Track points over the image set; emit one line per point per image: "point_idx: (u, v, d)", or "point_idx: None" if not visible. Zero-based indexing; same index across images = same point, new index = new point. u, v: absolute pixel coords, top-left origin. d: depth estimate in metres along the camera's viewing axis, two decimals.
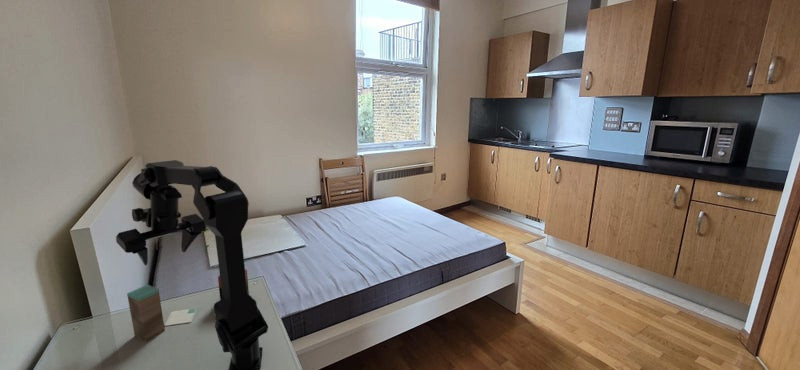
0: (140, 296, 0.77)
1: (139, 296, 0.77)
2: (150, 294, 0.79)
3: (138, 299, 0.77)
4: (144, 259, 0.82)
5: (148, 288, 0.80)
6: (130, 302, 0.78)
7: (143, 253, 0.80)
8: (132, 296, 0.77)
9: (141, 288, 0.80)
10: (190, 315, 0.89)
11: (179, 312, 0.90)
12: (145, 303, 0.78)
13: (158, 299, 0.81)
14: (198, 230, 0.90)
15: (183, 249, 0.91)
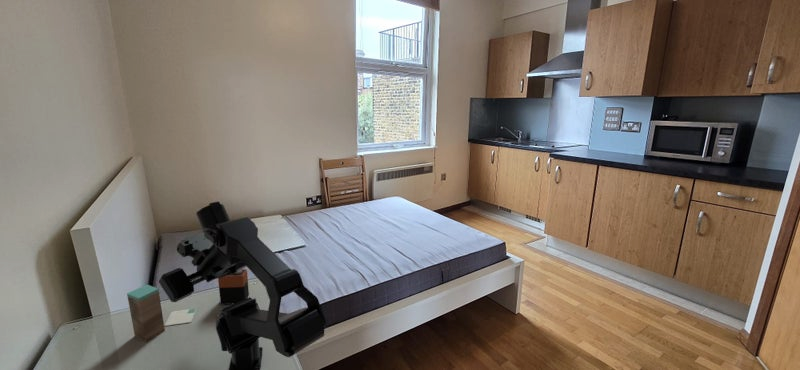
0: (140, 296, 0.77)
1: (139, 296, 0.77)
2: (150, 294, 0.79)
3: (138, 299, 0.77)
4: None
5: (148, 288, 0.80)
6: (130, 302, 0.78)
7: None
8: (132, 296, 0.77)
9: (141, 288, 0.80)
10: (190, 315, 0.89)
11: (179, 312, 0.90)
12: (145, 303, 0.78)
13: (158, 299, 0.81)
14: (240, 268, 0.82)
15: None
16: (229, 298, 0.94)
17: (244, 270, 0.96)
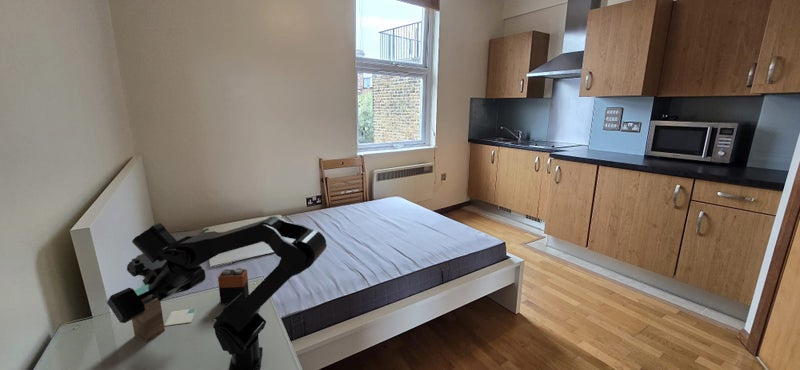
0: None
1: None
2: None
3: None
4: None
5: None
6: None
7: None
8: None
9: (141, 288, 0.80)
10: (190, 315, 0.89)
11: (179, 312, 0.90)
12: None
13: (158, 299, 0.81)
14: (196, 284, 0.82)
15: None
16: (229, 298, 0.94)
17: (244, 270, 0.96)
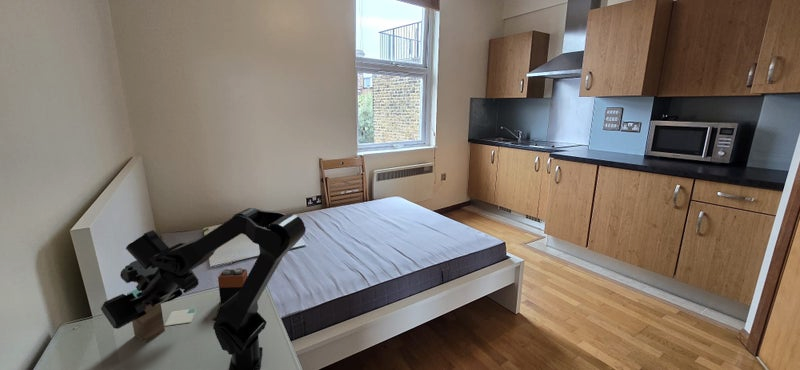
0: None
1: None
2: None
3: None
4: None
5: None
6: None
7: None
8: None
9: None
10: (190, 315, 0.89)
11: (179, 312, 0.90)
12: None
13: None
14: (189, 290, 0.84)
15: None
16: (229, 298, 0.94)
17: (244, 270, 0.96)
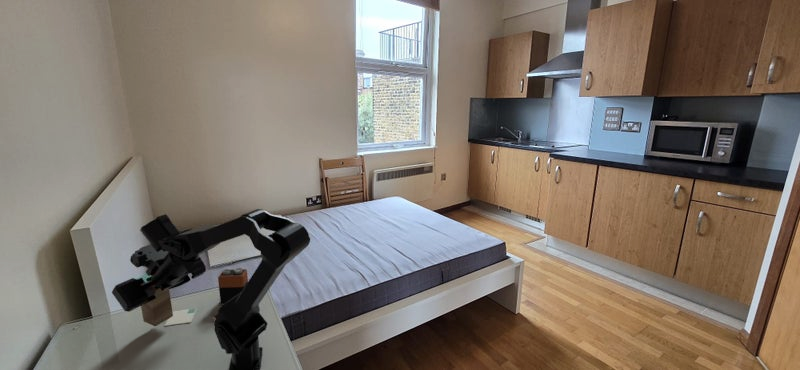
0: (149, 281, 0.78)
1: None
2: None
3: None
4: None
5: None
6: None
7: None
8: None
9: None
10: (190, 315, 0.89)
11: (179, 312, 0.90)
12: None
13: None
14: (197, 276, 0.85)
15: None
16: (229, 298, 0.94)
17: (244, 270, 0.96)
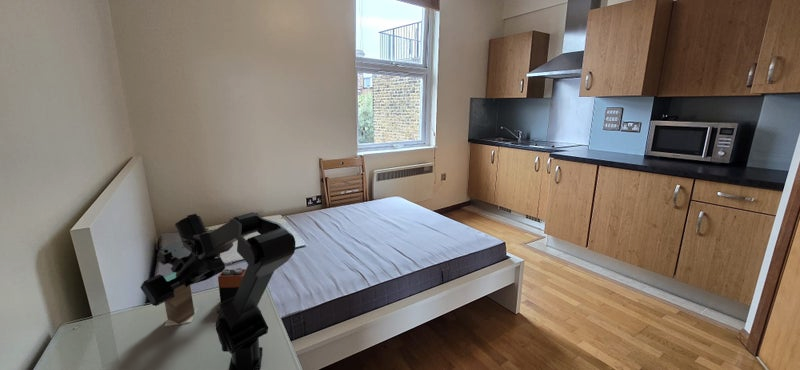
0: None
1: None
2: None
3: None
4: None
5: None
6: None
7: None
8: None
9: (172, 275, 0.86)
10: None
11: None
12: (177, 289, 0.84)
13: None
14: (217, 273, 0.90)
15: None
16: (229, 298, 0.94)
17: (244, 270, 0.96)
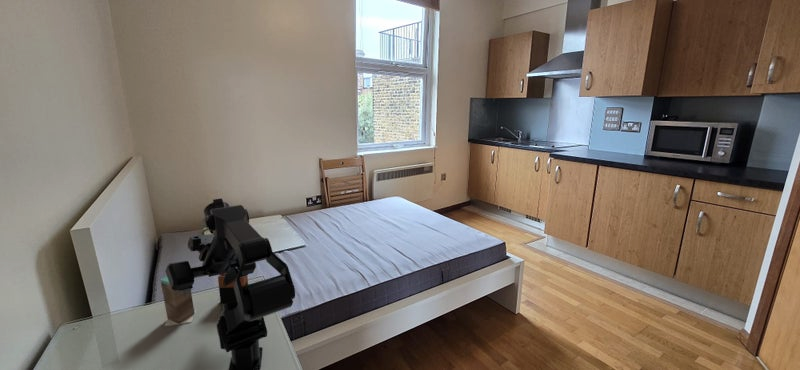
0: None
1: None
2: None
3: None
4: (185, 293, 0.77)
5: None
6: (163, 287, 0.84)
7: (187, 290, 0.75)
8: (165, 282, 0.83)
9: None
10: None
11: None
12: None
13: None
14: (246, 273, 0.83)
15: (224, 284, 0.85)
16: (229, 298, 0.94)
17: None
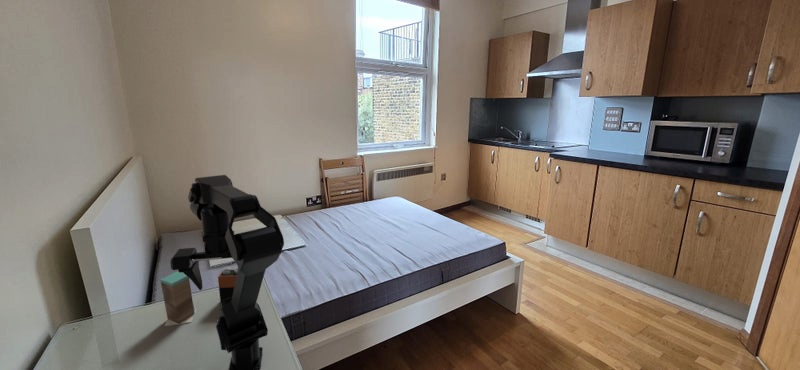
0: (172, 281, 0.83)
1: (172, 282, 0.83)
2: (181, 280, 0.85)
3: (171, 284, 0.83)
4: (194, 282, 0.77)
5: (179, 275, 0.86)
6: (163, 287, 0.84)
7: (189, 274, 0.75)
8: (165, 282, 0.83)
9: (172, 275, 0.86)
10: None
11: None
12: (177, 289, 0.84)
13: (188, 285, 0.87)
14: None
15: None
16: None
17: None
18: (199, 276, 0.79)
